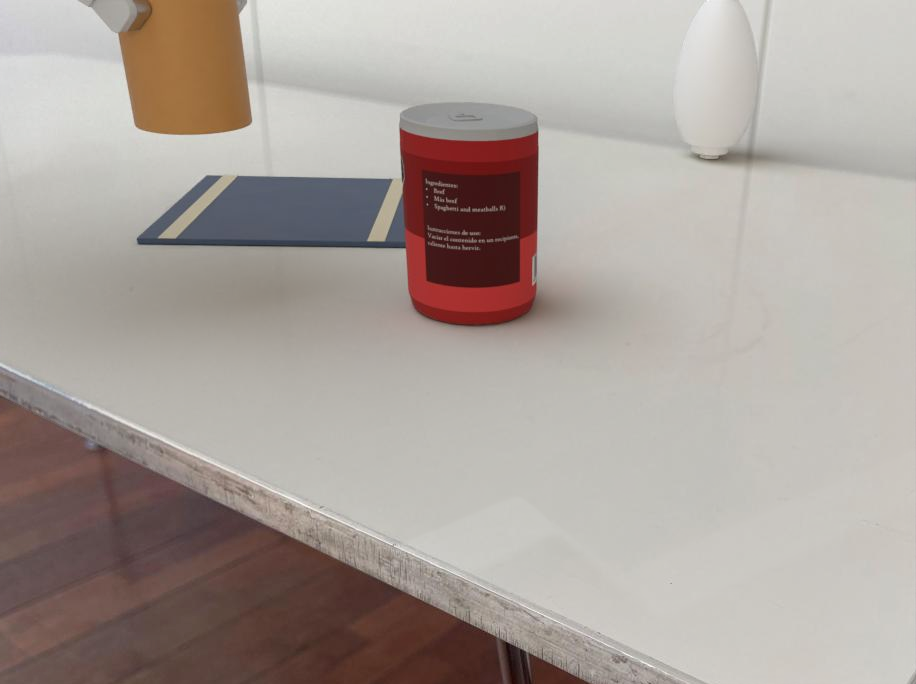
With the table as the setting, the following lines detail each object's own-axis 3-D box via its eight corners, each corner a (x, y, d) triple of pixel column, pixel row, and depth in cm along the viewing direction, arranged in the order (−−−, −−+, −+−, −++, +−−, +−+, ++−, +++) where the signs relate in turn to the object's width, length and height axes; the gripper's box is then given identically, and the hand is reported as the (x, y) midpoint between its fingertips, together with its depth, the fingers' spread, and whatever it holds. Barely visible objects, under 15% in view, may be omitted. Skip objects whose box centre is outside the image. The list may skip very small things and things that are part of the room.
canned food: (483, 273, 65) (480, 97, 60) (564, 308, 60) (568, 119, 55) (382, 297, 60) (369, 108, 55) (460, 337, 55) (454, 133, 50)
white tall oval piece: (765, 161, 98) (788, -42, 90) (706, 169, 94) (725, -43, 86) (711, 145, 104) (728, -47, 95) (653, 153, 100) (666, -48, 91)
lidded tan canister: (118, 134, 51) (75, -94, 46) (154, 111, 57) (118, -95, 52) (238, 136, 52) (208, -88, 47) (262, 114, 57) (238, -90, 52)
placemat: (137, 243, 68) (136, 237, 68) (207, 179, 84) (206, 174, 83) (405, 247, 69) (405, 241, 69) (424, 184, 85) (424, 178, 85)
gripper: (-200, -307, 39) (51, -17, 41) (166, -240, 56) (332, -37, 58) (-237, -176, 43) (-5, 86, 45) (118, -150, 60) (276, 39, 62)
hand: (188, 16), depth 51 cm, fingers closed on lidded tan canister, 6 cm apart
